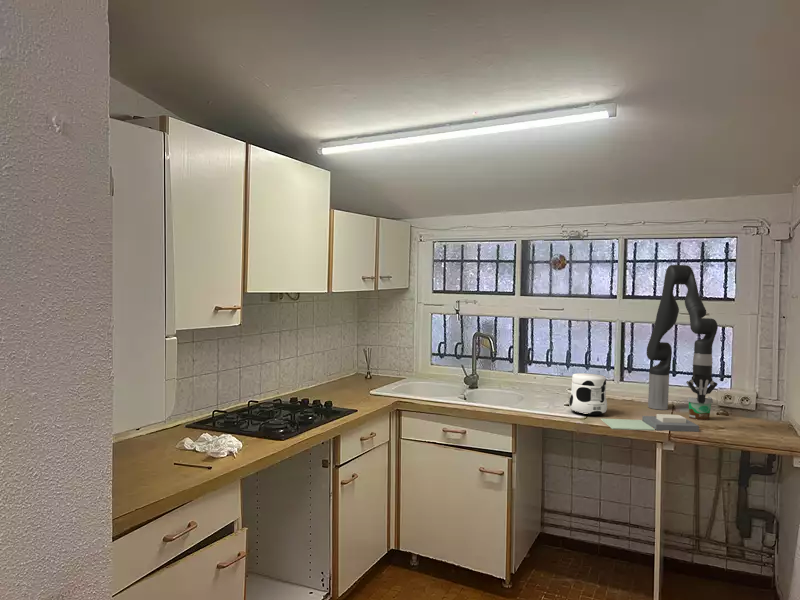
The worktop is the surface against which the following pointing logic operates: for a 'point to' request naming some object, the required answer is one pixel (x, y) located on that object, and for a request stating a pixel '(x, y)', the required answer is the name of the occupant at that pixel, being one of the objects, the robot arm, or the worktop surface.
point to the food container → (699, 408)
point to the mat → (627, 424)
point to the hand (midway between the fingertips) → (701, 403)
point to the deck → (670, 425)
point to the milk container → (588, 394)
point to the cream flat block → (671, 418)
